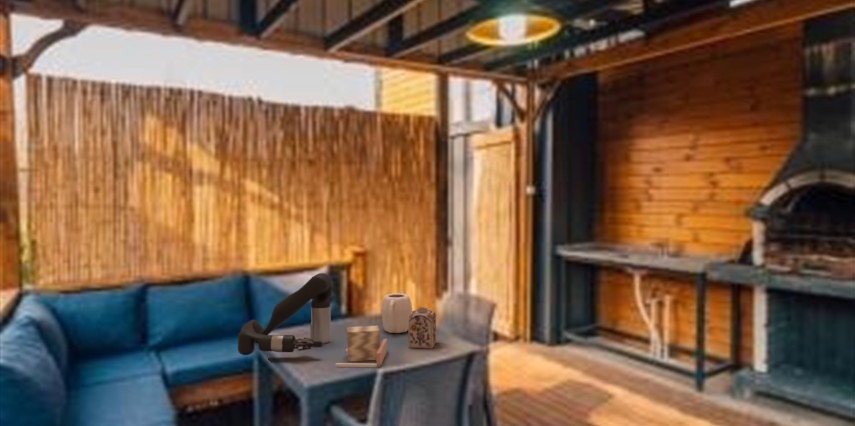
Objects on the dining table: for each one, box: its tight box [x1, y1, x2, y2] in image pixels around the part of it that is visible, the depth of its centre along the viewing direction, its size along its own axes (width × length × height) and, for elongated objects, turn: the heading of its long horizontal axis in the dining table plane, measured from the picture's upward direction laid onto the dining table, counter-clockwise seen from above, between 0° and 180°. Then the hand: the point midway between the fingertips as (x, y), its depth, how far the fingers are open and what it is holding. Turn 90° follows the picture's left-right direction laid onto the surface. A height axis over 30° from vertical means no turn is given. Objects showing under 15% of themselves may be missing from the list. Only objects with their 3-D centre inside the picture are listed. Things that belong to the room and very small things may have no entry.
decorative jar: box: [407, 306, 437, 349], centre depth 291 cm, size 12×12×18 cm
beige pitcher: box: [380, 290, 413, 334], centre depth 320 cm, size 16×27×19 cm, turn 168°
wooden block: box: [346, 325, 381, 363], centre depth 273 cm, size 14×9×13 cm, turn 100°
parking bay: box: [335, 338, 388, 368], centre depth 271 cm, size 19×23×6 cm
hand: (322, 344), depth 272 cm, fingers closed
